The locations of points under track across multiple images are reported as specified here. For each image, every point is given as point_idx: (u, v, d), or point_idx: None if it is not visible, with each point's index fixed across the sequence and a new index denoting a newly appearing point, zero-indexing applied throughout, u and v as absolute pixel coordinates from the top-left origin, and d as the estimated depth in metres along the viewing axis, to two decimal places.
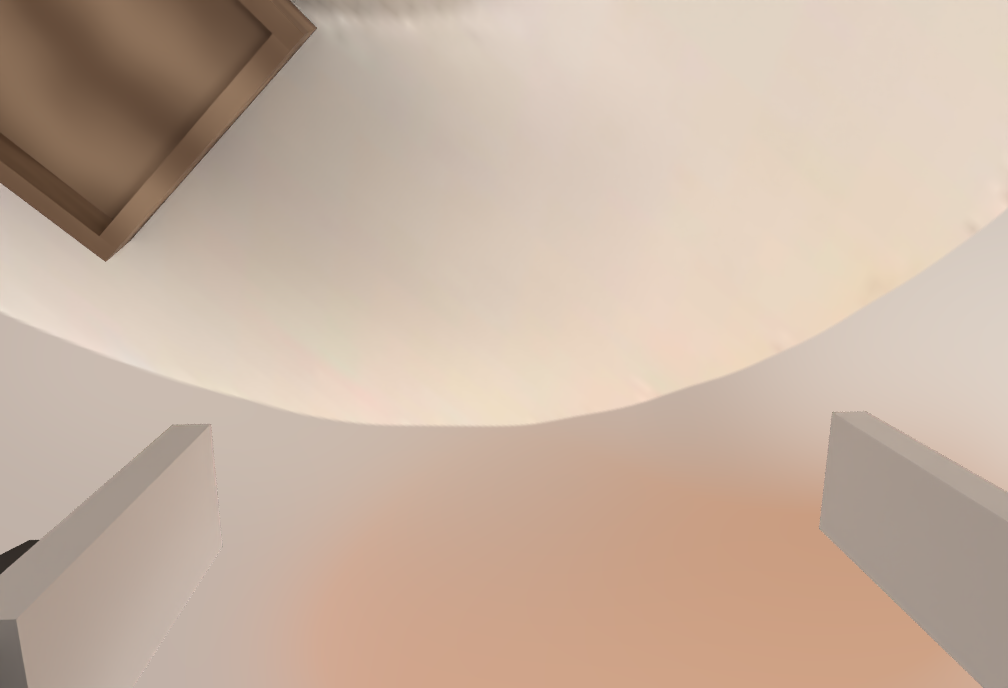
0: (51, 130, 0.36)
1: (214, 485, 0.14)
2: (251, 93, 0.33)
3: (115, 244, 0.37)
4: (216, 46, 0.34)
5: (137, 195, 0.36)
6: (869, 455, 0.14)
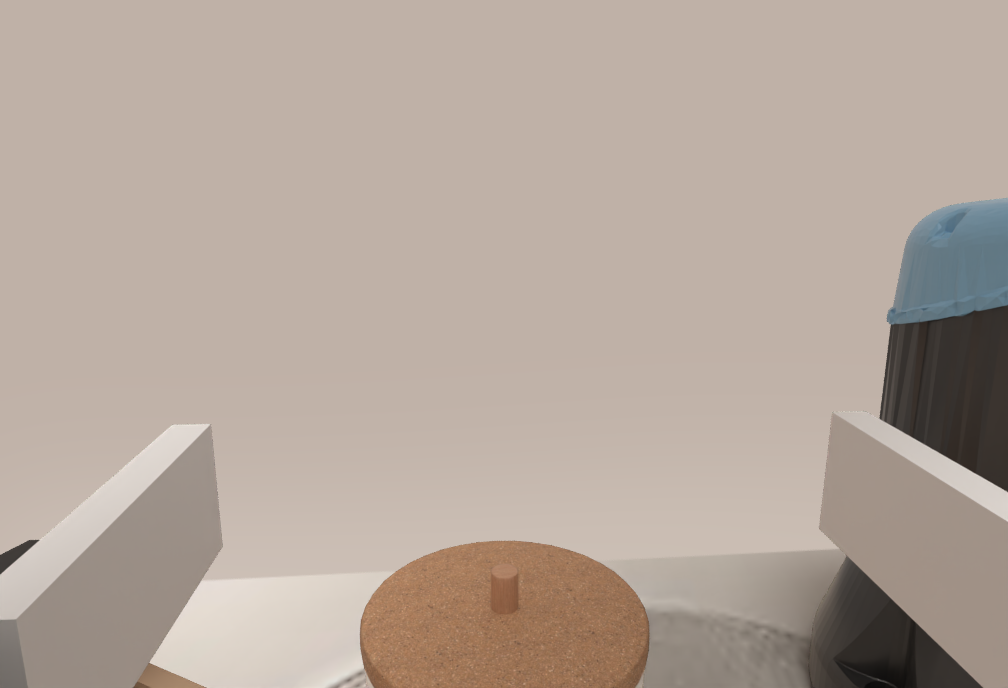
0: None
1: (214, 485, 0.14)
2: None
3: None
4: None
5: None
6: (869, 454, 0.14)
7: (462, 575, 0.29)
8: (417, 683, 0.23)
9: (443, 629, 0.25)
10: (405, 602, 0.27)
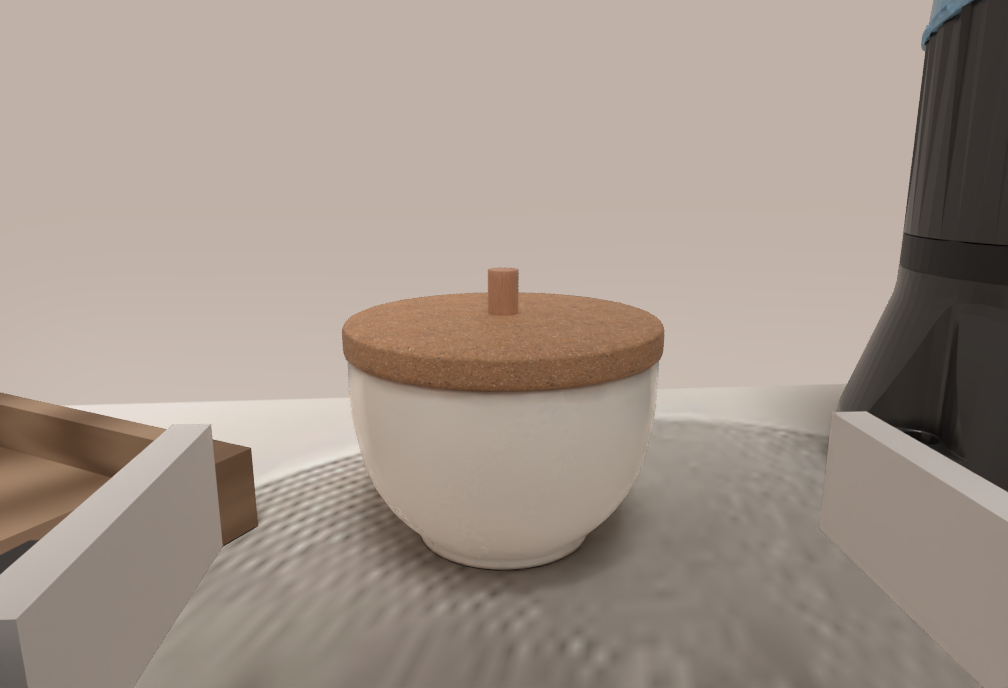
0: None
1: (214, 485, 0.14)
2: None
3: None
4: None
5: None
6: (869, 455, 0.14)
7: (457, 301, 0.26)
8: (404, 343, 0.20)
9: (435, 321, 0.23)
10: (394, 311, 0.24)
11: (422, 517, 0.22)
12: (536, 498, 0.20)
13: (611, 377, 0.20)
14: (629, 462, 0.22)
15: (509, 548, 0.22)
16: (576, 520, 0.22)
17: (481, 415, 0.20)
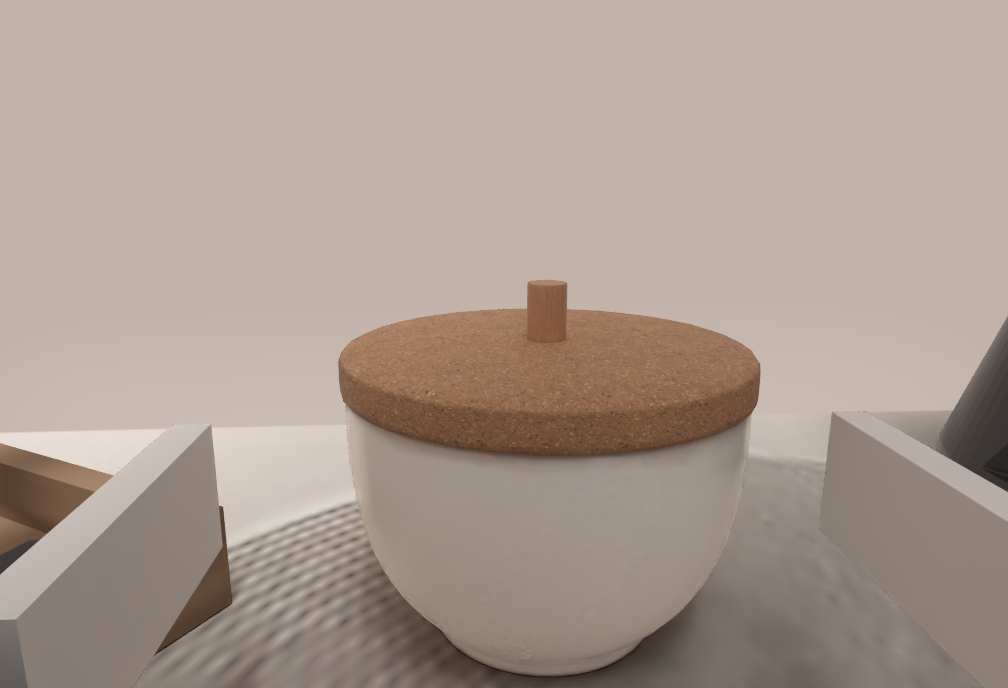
0: None
1: (214, 485, 0.14)
2: None
3: None
4: None
5: None
6: (869, 455, 0.14)
7: (484, 322, 0.21)
8: (421, 384, 0.15)
9: (460, 350, 0.17)
10: (406, 335, 0.19)
11: (442, 614, 0.16)
12: (599, 596, 0.15)
13: (704, 433, 0.15)
14: (718, 541, 0.16)
15: (558, 655, 0.16)
16: (648, 620, 0.16)
17: (527, 487, 0.14)
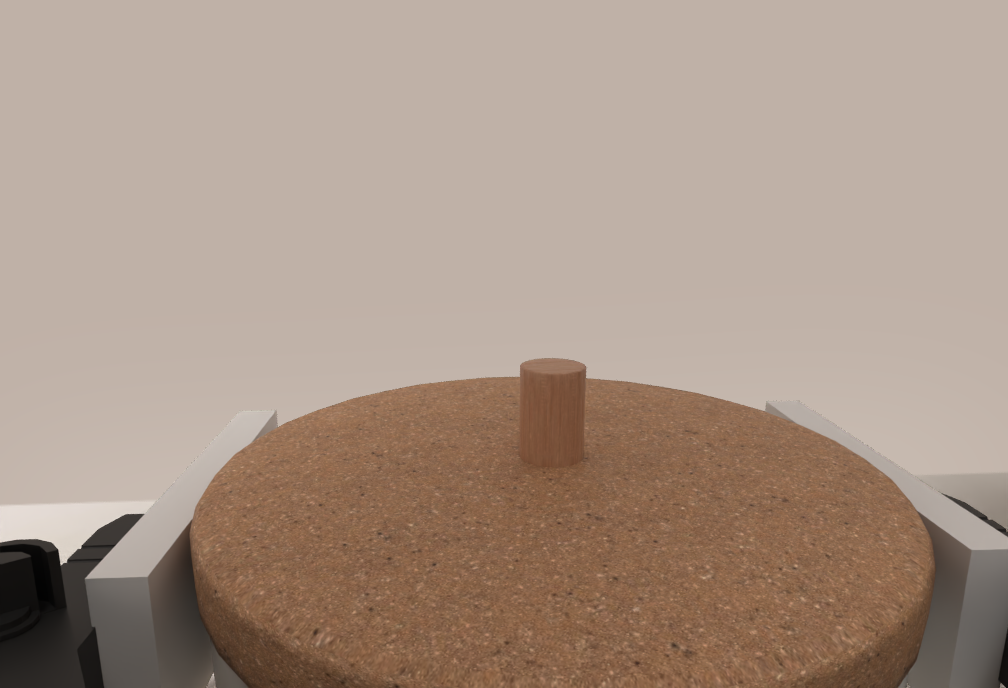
0: None
1: None
2: None
3: None
4: None
5: None
6: None
7: (454, 412, 0.13)
8: (309, 607, 0.08)
9: (403, 491, 0.10)
10: (321, 447, 0.12)
11: None
12: None
13: None
14: None
15: None
16: None
17: None
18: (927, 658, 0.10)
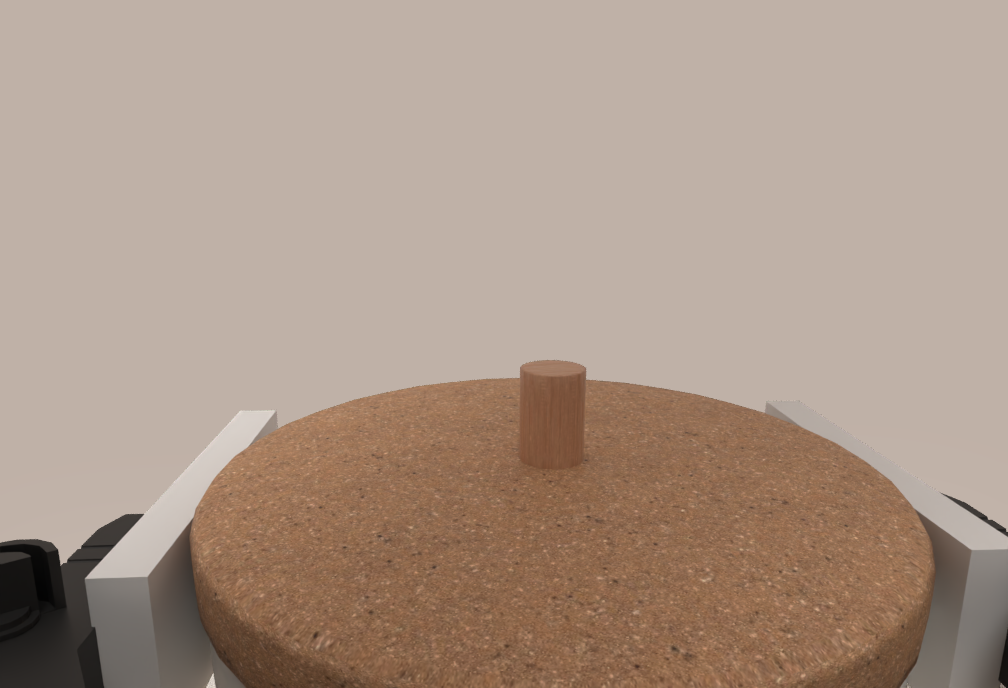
0: None
1: None
2: None
3: None
4: None
5: None
6: None
7: (454, 413, 0.13)
8: (309, 610, 0.08)
9: (403, 493, 0.10)
10: (322, 449, 0.12)
11: None
12: None
13: None
14: None
15: None
16: None
17: None
18: (927, 658, 0.10)
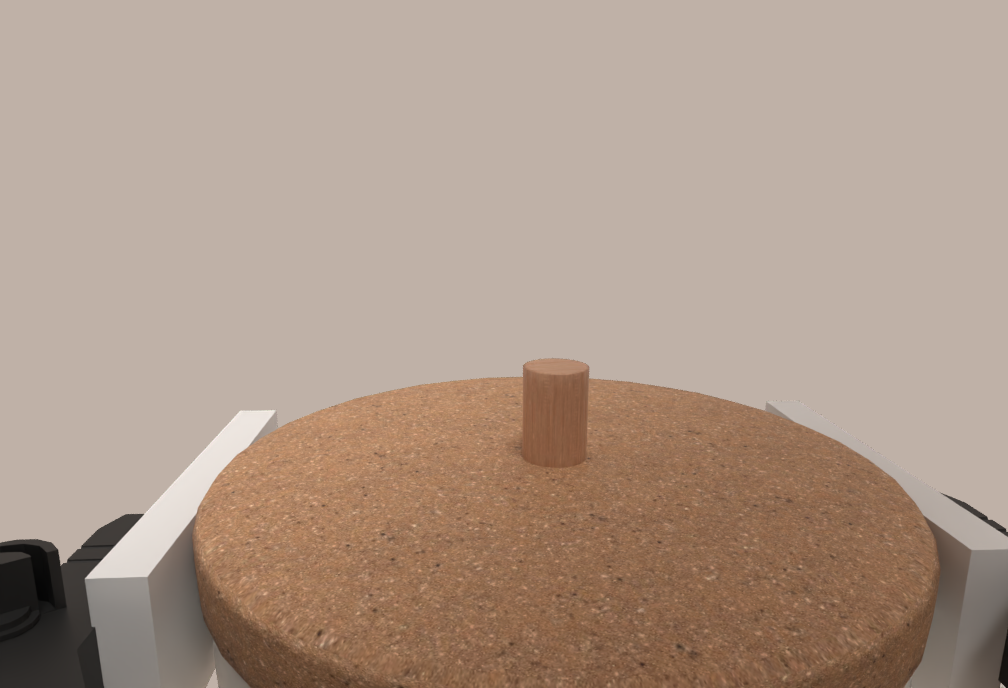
0: None
1: None
2: None
3: None
4: None
5: None
6: None
7: (456, 412, 0.13)
8: (312, 608, 0.07)
9: (405, 492, 0.10)
10: (324, 448, 0.12)
11: None
12: None
13: None
14: None
15: None
16: None
17: None
18: (927, 658, 0.10)
